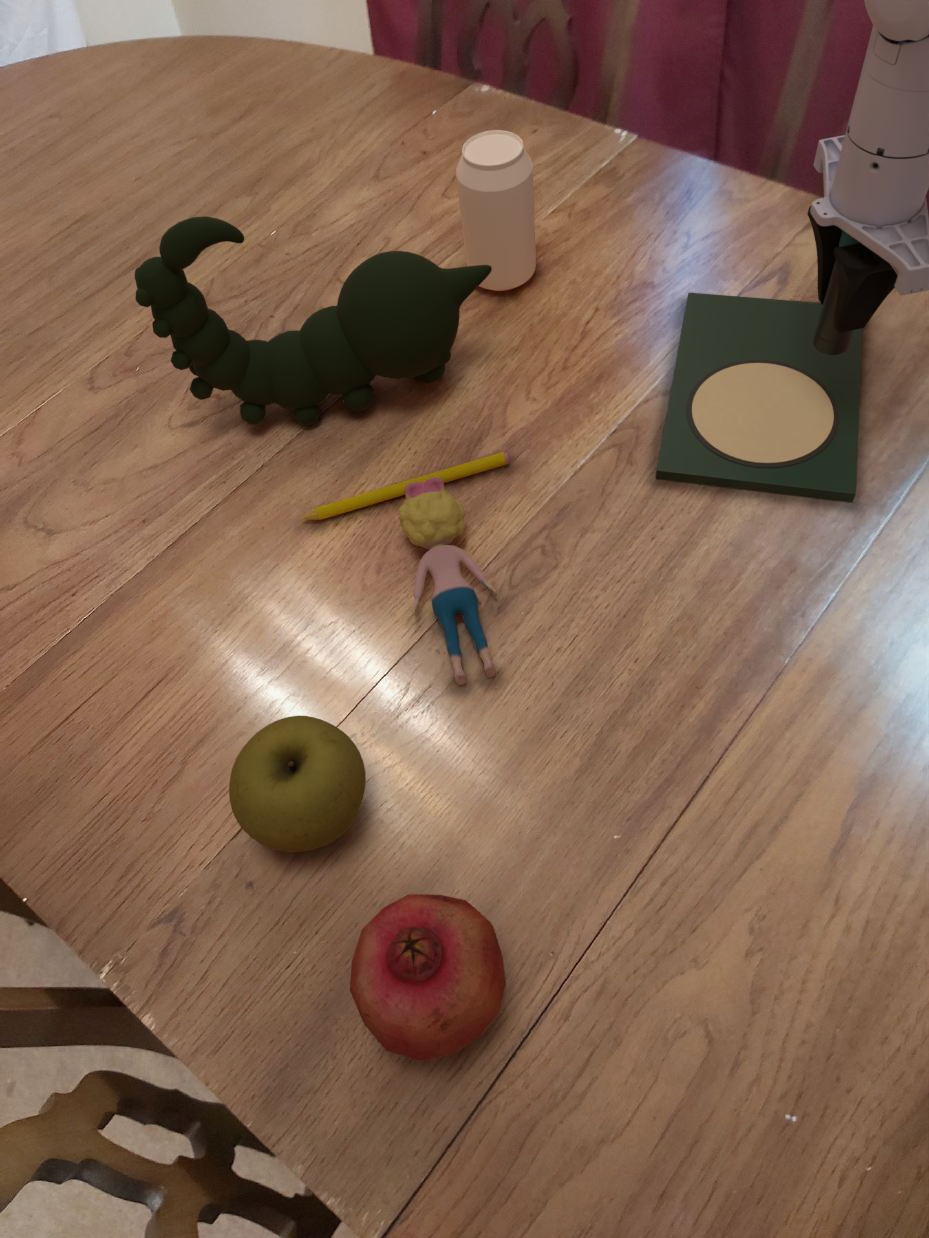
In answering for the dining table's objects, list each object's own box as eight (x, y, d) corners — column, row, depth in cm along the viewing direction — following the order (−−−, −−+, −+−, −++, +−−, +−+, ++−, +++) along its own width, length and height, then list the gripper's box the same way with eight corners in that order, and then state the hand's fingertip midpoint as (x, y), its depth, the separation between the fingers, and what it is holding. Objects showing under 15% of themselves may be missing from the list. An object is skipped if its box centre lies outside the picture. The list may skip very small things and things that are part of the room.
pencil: (505, 457, 72) (504, 448, 71) (509, 466, 71) (508, 457, 70) (299, 518, 71) (295, 510, 70) (301, 528, 70) (298, 520, 69)
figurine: (520, 676, 63) (466, 502, 70) (518, 646, 59) (461, 465, 66) (434, 698, 62) (389, 521, 70) (426, 669, 58) (380, 485, 66)
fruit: (350, 1056, 50) (307, 1025, 42) (382, 906, 54) (348, 851, 46) (498, 1082, 49) (483, 1056, 40) (519, 927, 53) (510, 874, 45)
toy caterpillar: (227, 476, 76) (521, 388, 75) (110, 289, 60) (481, 174, 59) (218, 397, 81) (494, 314, 80) (109, 205, 65) (451, 98, 64)
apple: (399, 821, 57) (379, 776, 51) (284, 895, 55) (250, 857, 49) (340, 730, 61) (315, 677, 55) (231, 796, 59) (193, 750, 53)
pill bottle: (841, 328, 71) (877, 210, 62) (855, 352, 69) (894, 234, 61) (806, 335, 71) (837, 217, 62) (820, 359, 69) (853, 242, 61)
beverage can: (547, 285, 82) (544, 156, 72) (482, 306, 82) (469, 179, 72) (521, 245, 86) (514, 117, 76) (458, 265, 85) (443, 138, 75)
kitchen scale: (687, 301, 79) (688, 291, 78) (859, 316, 77) (863, 304, 76) (655, 479, 69) (656, 469, 68) (852, 503, 67) (856, 492, 66)
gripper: (788, 83, 60) (753, 262, 72) (881, 214, 52) (825, 392, 64) (894, 62, 60) (843, 244, 72) (1003, 190, 53) (925, 372, 64)
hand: (841, 313), depth 68 cm, fingers closed on pill bottle, 2 cm apart
